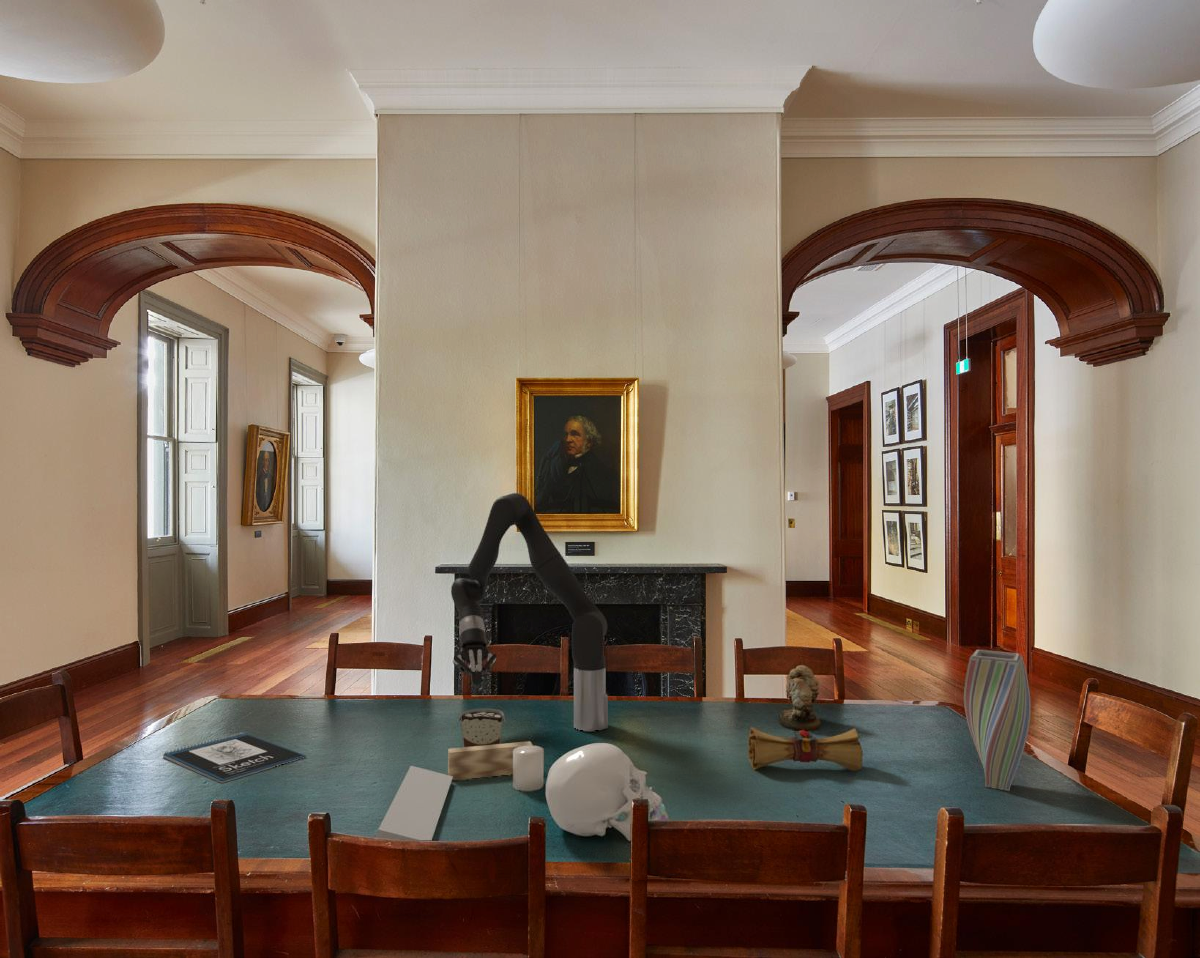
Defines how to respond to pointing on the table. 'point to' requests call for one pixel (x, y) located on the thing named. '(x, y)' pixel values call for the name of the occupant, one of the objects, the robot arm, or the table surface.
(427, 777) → the grey long flat block
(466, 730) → the food container
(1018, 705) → the vase
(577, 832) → the white human skull
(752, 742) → the scroll
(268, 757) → the sketchbook
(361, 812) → the table surface
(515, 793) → the table surface
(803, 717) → the stone bust statue
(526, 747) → the glossy white cylinder
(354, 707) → the table surface
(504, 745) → the light wooden block
